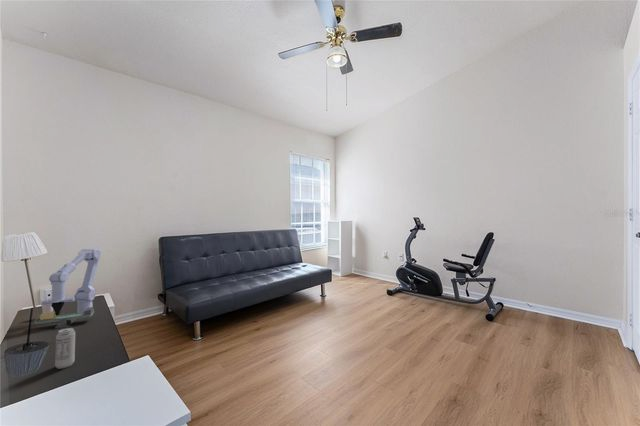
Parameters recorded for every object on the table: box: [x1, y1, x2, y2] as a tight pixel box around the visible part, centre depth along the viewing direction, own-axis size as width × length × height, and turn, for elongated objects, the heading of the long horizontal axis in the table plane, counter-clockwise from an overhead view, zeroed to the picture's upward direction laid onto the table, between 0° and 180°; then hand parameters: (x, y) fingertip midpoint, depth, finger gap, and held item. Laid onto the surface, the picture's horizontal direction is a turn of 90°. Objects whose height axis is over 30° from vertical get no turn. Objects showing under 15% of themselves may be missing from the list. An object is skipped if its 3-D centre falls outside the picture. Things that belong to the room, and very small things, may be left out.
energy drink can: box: [54, 327, 76, 370], centre depth 115 cm, size 6×6×15 cm
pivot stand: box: [54, 313, 76, 330], centre depth 163 cm, size 12×6×5 cm, turn 29°
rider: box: [39, 310, 57, 321], centre depth 159 cm, size 5×6×4 cm
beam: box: [33, 306, 95, 326], centre depth 163 cm, size 9×25×4 cm, turn 119°
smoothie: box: [41, 295, 54, 314], centre depth 176 cm, size 6×6×14 cm
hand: (57, 315), depth 161 cm, fingers closed
